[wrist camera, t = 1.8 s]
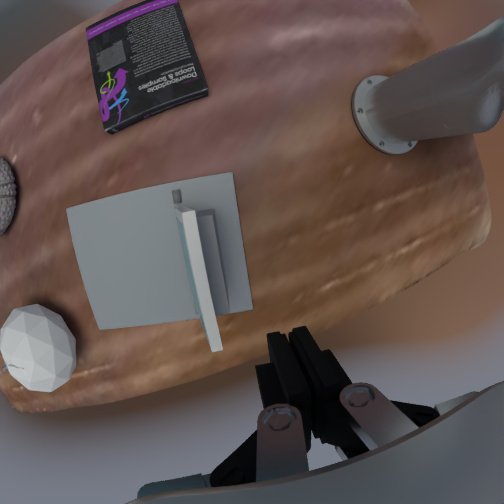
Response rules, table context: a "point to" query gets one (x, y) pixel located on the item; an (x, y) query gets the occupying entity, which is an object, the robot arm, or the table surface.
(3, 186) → the sea urchin shell
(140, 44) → the box
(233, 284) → the board
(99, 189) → the table surface
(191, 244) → the tile
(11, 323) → the geodesic sphere
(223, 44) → the table surface
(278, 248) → the table surface
